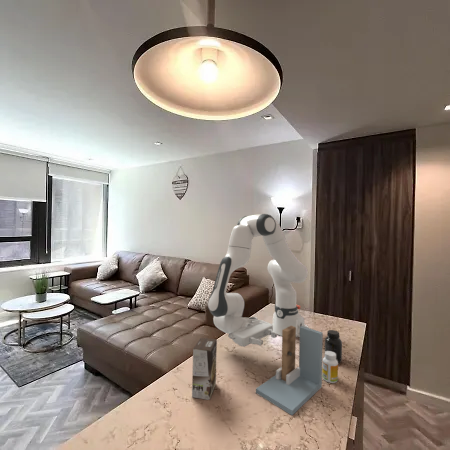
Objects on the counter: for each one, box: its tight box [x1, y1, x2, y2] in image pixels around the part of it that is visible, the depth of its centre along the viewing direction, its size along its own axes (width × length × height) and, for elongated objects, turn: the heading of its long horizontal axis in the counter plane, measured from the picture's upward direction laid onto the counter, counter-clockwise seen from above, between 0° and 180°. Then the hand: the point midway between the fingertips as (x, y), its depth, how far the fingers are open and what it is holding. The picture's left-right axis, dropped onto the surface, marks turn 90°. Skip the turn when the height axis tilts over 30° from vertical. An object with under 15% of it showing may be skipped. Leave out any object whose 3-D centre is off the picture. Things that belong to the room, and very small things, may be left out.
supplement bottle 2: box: [322, 350, 339, 384], centre depth 95 cm, size 5×5×10 cm
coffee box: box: [191, 337, 218, 401], centre depth 87 cm, size 9×6×16 cm
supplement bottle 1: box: [324, 329, 343, 364], centre depth 109 cm, size 7×7×12 cm
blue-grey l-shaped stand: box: [255, 326, 324, 416], centre depth 88 cm, size 20×14×20 cm
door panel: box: [281, 326, 297, 381], centre depth 93 cm, size 6×3×18 cm, turn 134°
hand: (269, 339), depth 99 cm, fingers open, 8 cm apart
